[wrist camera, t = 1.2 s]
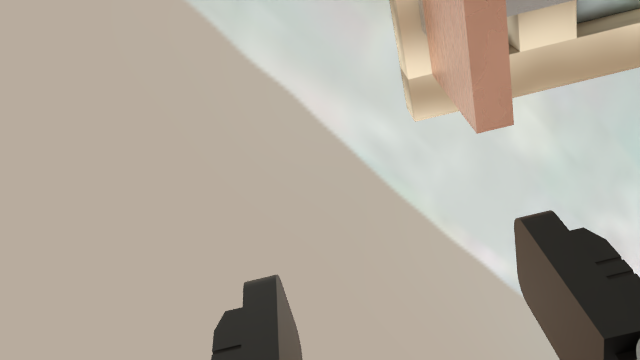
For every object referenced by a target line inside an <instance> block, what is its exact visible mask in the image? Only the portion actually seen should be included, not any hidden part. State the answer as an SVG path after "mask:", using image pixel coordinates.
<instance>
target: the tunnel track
mask: <svg viewBox="0 0 640 360" xmlns="http://www.w3.org/2000/svg"><path fill="white" fill-rule="evenodd" d="M390 6H391V13H392V19H393V25H394V31H395V37H396V43H397V49H398V55H399V62H400V68H401V74H402V80H403V86H404V92H405V98H406V105H407V109H408V110H409V112H410V114H411V116H412V117H413V119H414V121H415V122H416V121H420V120H424V119H428V118H432V117H436V116H441V115H445V114H449V113H453V112H457V111H459V109H458V108H457V107H456V105H455V104H454V103H453V102H452V100H451V99H450V98H449V96H448V95H447V94H446V92H445V91H444V90H443V88H442V87H441V86H440V84H439V83H438V82H437V80H436V79H435V78H434V77H433V75H432V69H431V61H430V54H429V47H428V39H427V36H426V35H425V34H424V33H423V31H422V26H421V19H420V11H419V4H418V0H390ZM507 28H508V43H509V59H510V74H511V89H512V98H514V97H519V96H523V95H527V94H531V93H535V92H539V91H543V90H547V89H551V88H556V87H560V86H564V85H568V84H572V83H576V82H580V81H584V80H588V79H592V78H597V77H601V76H605V75H609V74H613V73H617V72H621V71H625V70H629V69H634V68H638V67H640V8H639V9H635V10H631V11H627V12H623V13H618V14H614V15H610V16H606V17H602V18H598V19H594V20H590V21H586V22H582V23H578V24H577V21H576V0H573V1H569V2H565V3H561V4H557V5H553V6H549V7H545V8H541V9H537V10H533V11H529V12H525V13H521V14H517V15H513V16H509V17H507Z"/></svg>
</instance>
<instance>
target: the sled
mask: <svg viewBox="0 0 640 360" xmlns="http://www.w3.org/2000/svg"><path fill="white" fill-rule="evenodd" d="M569 1H573V0H418V4H419V11H420V19H421V26H422V31H423V33H424V34H425V35H426V36H427V39H428V47H429V54H430V61H431V69H432V75H433V77H434V78H435V79H436V80H437V82H438V83H439V84H440V86H441V87H442V88H443V90H444V91H445V92H446V94H447V95H448V96H449V98H450V99H451V100H452V102H453V103H454V104H455V105H456V107H457V108H458V109H459V111H460V112H461V113H462V115H463V116H464V117H465V119H466V120H467V121H468V123H469V124H470V125H471V127H472V128H473V129H474V130H475V132H476V133H481V132H485V131H489V130H494V129H498V128H502V127H506V126H510V125H514V120H513V105H512V89H511V74H510V59H509V43H508V28H507V17H509V16H513V15H517V14H521V13H525V12H529V11H533V10H537V9H541V8H545V7H549V6H553V5H557V4H561V3H565V2H569Z"/></svg>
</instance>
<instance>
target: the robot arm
mask: <svg viewBox="0 0 640 360" xmlns="http://www.w3.org/2000/svg"><path fill="white" fill-rule="evenodd" d="M514 232H515V245H516V259H517V273H518V279H519V284H520V287H521V291H522V293H523V296H524V298H525V300H526V302H527V304H528V306H529V308H530V309H531V311H532V313H533V315H534V316H535V318H536V320H537V321H538V323H539V324H540V326H541V328H542V330H543V331H544V333H545V335H546V337H547V338H548V340H549V342H550V343H551V345H552V347H553V349H554V350H555V352H556V354H557V355H558V357H559V359H560V360H640V277H639V276H638V275H637V274H634V272H633V269H632V268H631V267H630V266H629V265H628V264H627V263H626V262H625V260H622V259H621V256H620V255H619V254H618V253H617V251H616V250H615V249H614V248H613V247H612V246H611V245H610V243H609V242H608V241H607V240H606V239H604V238H602V237H600V236H598V235H596V234H595V233H593V232H591V231H589V230H587V229H585V228H579V229H575V230H571V231H569V230H568V229H567V227H566V226H565V225H564V224H563V222H562V221H561V220H560V219H559V217H558V216H557V215H556V214H555V213H554V212H553V211H551V210H550V211H545V212H541V213H537V214H533V215H529V216H524V217H520V218H516V219H515V222H514ZM212 352H213V355H212V359H211V360H302V352H301V345H300V340H299V335H298V331H297V328H296V324H295V321H294V319H293V315H292V312H291V309H290V306H289V303H288V300H287V297H286V294H285V292H284V288H283V286H282V283H281V280H280V278H279V276H278V275H273V276H270V277H265V278H261V279H256V280H252V281H248V282H245V283H244V288H243V307H242V308H238V309H233V310H229V311H225V313H224V315H223V317H222V318H221V320H220V322H219V323H218V325H217V327H216V329H215V330H214V337H213V349H212Z"/></svg>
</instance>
